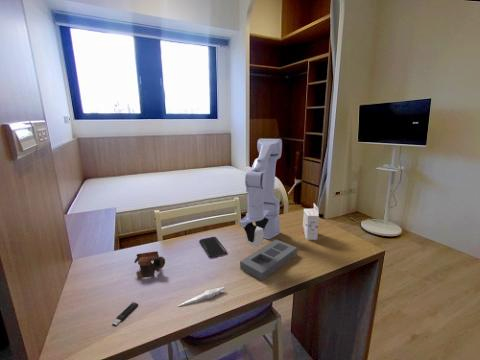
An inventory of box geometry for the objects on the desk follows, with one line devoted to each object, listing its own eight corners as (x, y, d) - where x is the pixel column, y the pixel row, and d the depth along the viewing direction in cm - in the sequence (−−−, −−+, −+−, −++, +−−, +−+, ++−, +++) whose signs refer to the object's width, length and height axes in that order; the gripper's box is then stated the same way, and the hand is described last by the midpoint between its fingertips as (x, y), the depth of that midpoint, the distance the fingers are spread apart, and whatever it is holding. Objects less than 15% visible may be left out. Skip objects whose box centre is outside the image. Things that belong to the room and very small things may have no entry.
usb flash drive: (117, 327, 64) (116, 324, 64) (111, 325, 65) (111, 322, 64) (138, 306, 71) (138, 303, 71) (133, 304, 72) (132, 301, 72)
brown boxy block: (128, 280, 83) (128, 255, 85) (146, 275, 92) (145, 253, 94) (158, 276, 80) (157, 250, 82) (174, 272, 89) (173, 249, 91)
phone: (215, 236, 111) (227, 252, 97) (215, 238, 111) (227, 254, 98) (198, 239, 107) (208, 256, 94) (198, 242, 108) (208, 259, 94)
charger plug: (254, 239, 94) (254, 225, 93) (263, 243, 91) (263, 228, 90) (246, 243, 91) (246, 228, 90) (255, 247, 88) (255, 232, 87)
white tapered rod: (223, 288, 78) (223, 283, 77) (226, 293, 76) (226, 288, 75) (176, 306, 72) (175, 300, 71) (178, 312, 69) (177, 306, 69)
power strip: (275, 245, 103) (276, 239, 102) (296, 254, 96) (296, 247, 96) (240, 268, 88) (240, 261, 87) (261, 280, 81) (262, 272, 80)
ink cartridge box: (301, 231, 116) (303, 202, 112) (312, 231, 116) (314, 202, 112) (306, 240, 108) (308, 209, 104) (317, 240, 108) (320, 208, 104)
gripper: (259, 197, 95) (259, 229, 98) (233, 206, 85) (233, 242, 88) (274, 201, 90) (273, 234, 94) (248, 211, 80) (248, 248, 83)
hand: (255, 238), depth 91 cm, fingers closed on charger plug, 4 cm apart
